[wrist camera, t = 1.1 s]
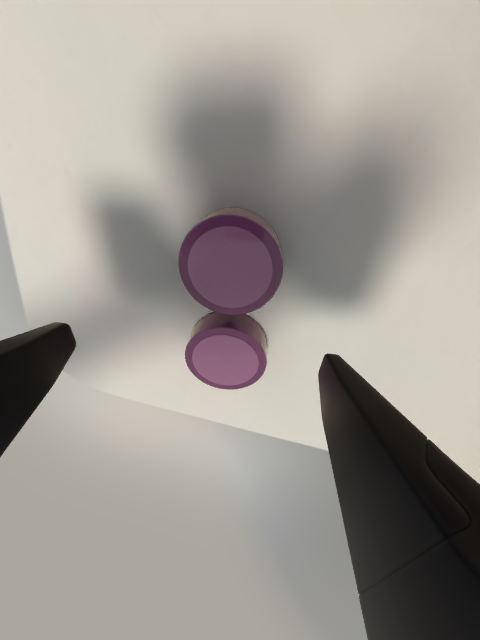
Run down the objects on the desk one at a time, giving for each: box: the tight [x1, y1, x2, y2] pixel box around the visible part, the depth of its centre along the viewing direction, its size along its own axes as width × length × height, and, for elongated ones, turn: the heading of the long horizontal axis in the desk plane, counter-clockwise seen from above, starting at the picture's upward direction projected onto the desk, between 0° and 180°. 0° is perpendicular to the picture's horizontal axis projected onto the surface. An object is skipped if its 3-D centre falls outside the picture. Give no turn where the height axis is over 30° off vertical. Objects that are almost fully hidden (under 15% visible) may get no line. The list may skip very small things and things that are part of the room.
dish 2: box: [185, 312, 267, 389], centre depth 20 cm, size 6×6×2 cm
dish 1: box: [179, 208, 283, 315], centre depth 16 cm, size 6×6×2 cm
